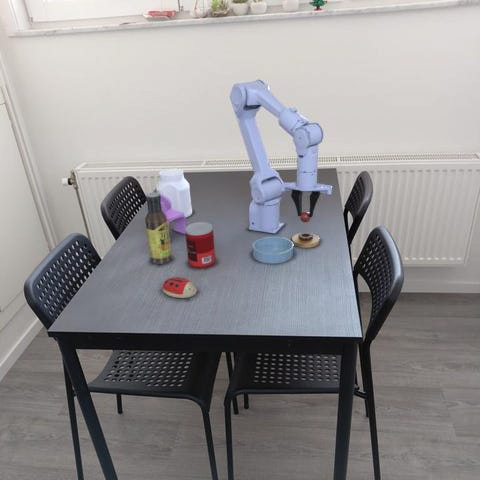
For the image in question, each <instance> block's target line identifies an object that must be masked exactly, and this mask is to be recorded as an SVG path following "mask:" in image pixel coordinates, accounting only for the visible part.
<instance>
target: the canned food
mask: <svg viewBox="0 0 480 480" xmlns="http://www.w3.org/2000/svg"><path fill="white" fill-rule="evenodd" d="M184 235H185V243H186V251H187V259H188V260H187V261H188V264H189V266H190V267H192V268H194V269H207V268H211V267H212V266H214V264H215V262H216V249H215V236H214V227H213V224H211V223H210V222H206V221H199V222H193V223H190V224H188V225H186V228H185V234H184Z"/></svg>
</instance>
